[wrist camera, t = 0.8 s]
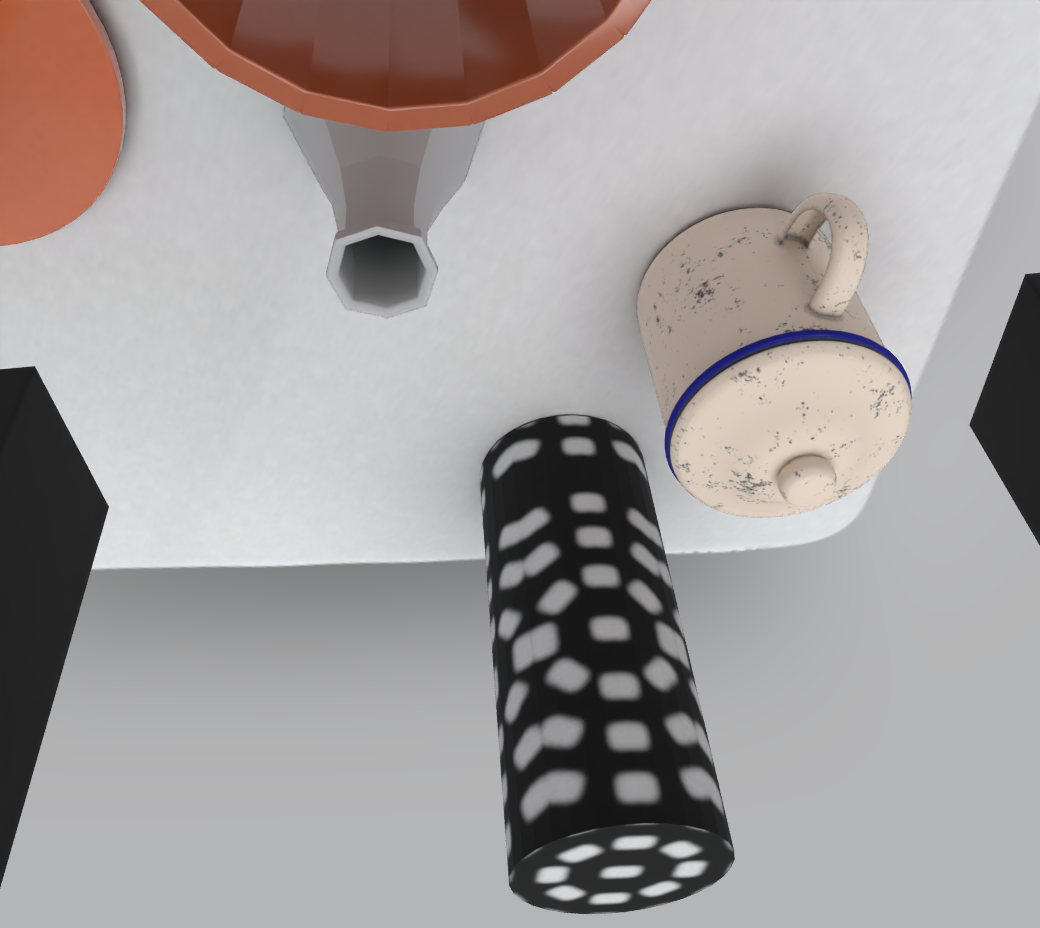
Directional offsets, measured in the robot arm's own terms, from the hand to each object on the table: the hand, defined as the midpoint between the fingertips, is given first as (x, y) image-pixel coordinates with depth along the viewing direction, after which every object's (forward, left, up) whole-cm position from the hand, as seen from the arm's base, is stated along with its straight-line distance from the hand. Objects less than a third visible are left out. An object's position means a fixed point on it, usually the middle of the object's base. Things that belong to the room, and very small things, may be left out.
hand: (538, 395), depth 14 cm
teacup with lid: (+15, +11, -24) cm, 30 cm away
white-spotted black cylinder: (+27, +3, -24) cm, 36 cm away
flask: (+7, -3, -24) cm, 25 cm away
